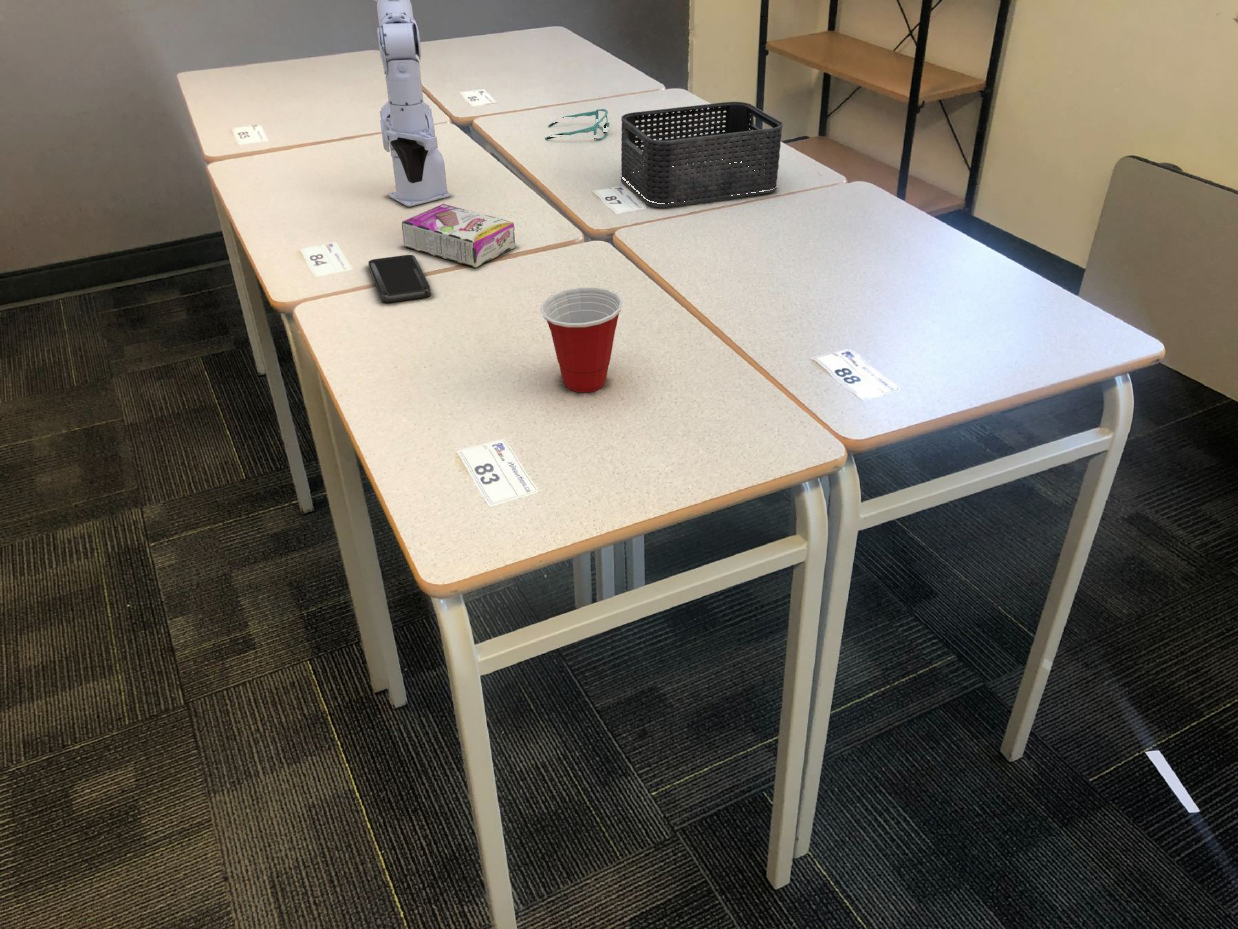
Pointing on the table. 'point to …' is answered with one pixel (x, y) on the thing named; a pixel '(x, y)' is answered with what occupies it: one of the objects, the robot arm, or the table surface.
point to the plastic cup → (583, 334)
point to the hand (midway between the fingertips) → (415, 181)
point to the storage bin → (700, 154)
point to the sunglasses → (586, 130)
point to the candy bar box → (459, 235)
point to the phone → (399, 278)
